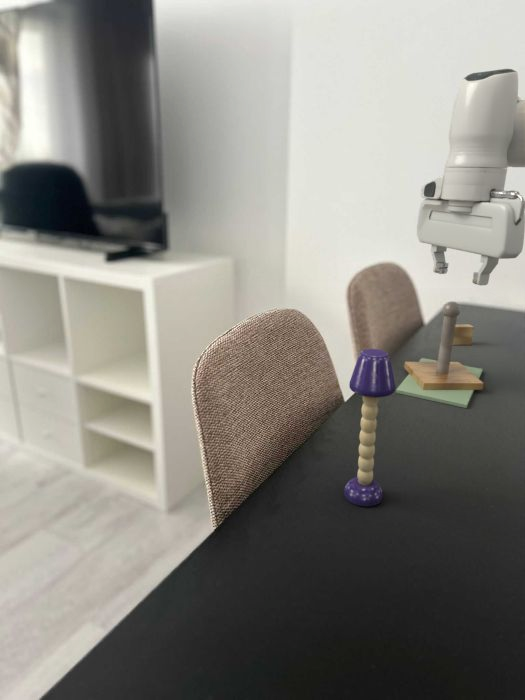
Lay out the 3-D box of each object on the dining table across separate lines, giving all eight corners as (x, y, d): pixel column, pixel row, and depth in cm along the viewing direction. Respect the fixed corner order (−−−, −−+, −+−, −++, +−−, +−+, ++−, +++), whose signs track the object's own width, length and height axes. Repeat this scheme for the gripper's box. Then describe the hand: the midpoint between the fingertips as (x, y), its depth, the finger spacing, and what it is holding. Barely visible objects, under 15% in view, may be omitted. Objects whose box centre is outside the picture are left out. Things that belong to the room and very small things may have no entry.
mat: (421, 360, 99) (421, 357, 98) (482, 372, 94) (482, 369, 93) (395, 392, 84) (396, 389, 84) (466, 408, 79) (467, 404, 79)
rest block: (466, 342, 110) (469, 324, 109) (470, 345, 109) (473, 326, 107) (444, 342, 110) (446, 324, 109) (448, 345, 108) (450, 326, 107)
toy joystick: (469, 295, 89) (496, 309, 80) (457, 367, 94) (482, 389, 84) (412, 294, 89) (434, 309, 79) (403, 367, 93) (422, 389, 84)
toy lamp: (332, 492, 57) (342, 351, 52) (356, 476, 60) (369, 342, 55) (368, 512, 54) (383, 364, 48) (392, 494, 57) (409, 353, 52)
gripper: (544, 191, 70) (525, 291, 74) (446, 186, 88) (435, 267, 92) (508, 190, 68) (490, 293, 72) (415, 186, 86) (405, 268, 90)
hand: (458, 278), depth 82 cm, fingers open, 8 cm apart
